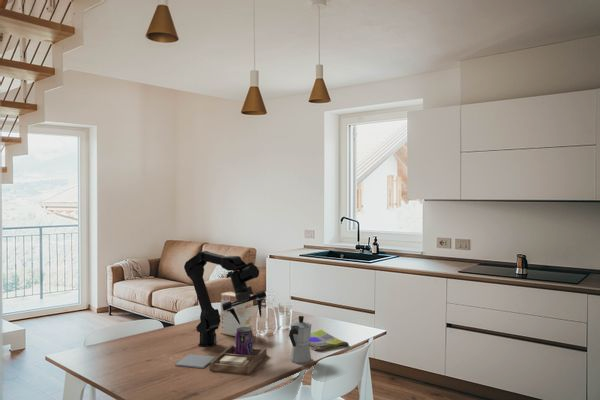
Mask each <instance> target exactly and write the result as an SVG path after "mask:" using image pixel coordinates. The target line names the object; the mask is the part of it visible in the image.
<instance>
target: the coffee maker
mask: <svg viewBox="0 0 600 400" xmlns="http://www.w3.org/2000/svg"><path fill="white" fill-rule="evenodd" d="M304 318H305V317H304V316H303V315H298V322H293V323H291V324H290V330H289V334H288V337H289V340H290V342H291V344H292V346H291V347H292V348H291V354H290V361H291V363H293V364H294V363H295V364H308V363H310V362H312V356H311V348H310V347H309V343H308V342H309V340H310V333H312V332H311V331H312V330H311V329H312V324H311V323H309V322H307V321H306V322H305V321H304Z"/></svg>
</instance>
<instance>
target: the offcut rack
mask: <svg viewBox="0 0 600 400" xmlns="http://www.w3.org/2000/svg"><path fill="white" fill-rule="evenodd" d="M267 352H268V351H267V347H263V348H258V347H256V348H255V347H253V356H251V355H240V354H235V346H234V344H230V345H229V346H228V347H226V348H225V349H224V350H223V351H221V353H219V354H218V355H216V356H215V357H216V358H214V359H213V360H212V361H211V362H210V363H209V371H215V372H224V373H233V374H243V375H250V373H252V372H253V370H255V369H256V367H257V366H258V365H259V364H260V363H261V362H262V361H263V360H264V359H265V357H266V356H267ZM224 356H235V357H247V361H250V362H249V363H248V364H247V365H246V366H238V365H228V364H220V360H221V359H222V358H223V357H224Z"/></svg>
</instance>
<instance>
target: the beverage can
mask: <svg viewBox="0 0 600 400" xmlns="http://www.w3.org/2000/svg"><path fill="white" fill-rule="evenodd" d="M251 330H252V329H251V328H249V327H240V328H237V331H236V334H235V336H234V337H235V340H234V341H235V342H234V343H235V353H234V354H240V355H251V356H254V355H253V348H254V346H253V345H254V343H253V338H254V337H253V336H254V333H252V331H251Z"/></svg>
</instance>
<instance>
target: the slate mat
mask: <svg viewBox="0 0 600 400" xmlns="http://www.w3.org/2000/svg"><path fill="white" fill-rule="evenodd" d="M216 357H217V356H211V355H201V354H193V353H192V354H190V353H189V354H187V355H185V357H183V358H181V359H180V360H179V361H177V362H176V363H174V366H175V367H185V368H194V369H195V368H196V369H204V368H206V367H208V365H210V362H211V361H212V360H213V359H214V358H216Z"/></svg>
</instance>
